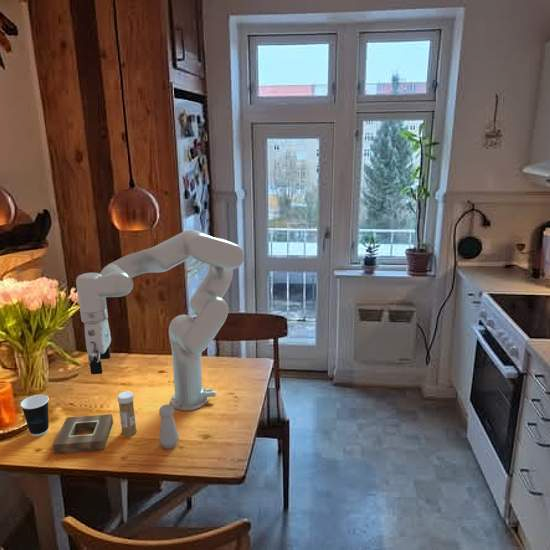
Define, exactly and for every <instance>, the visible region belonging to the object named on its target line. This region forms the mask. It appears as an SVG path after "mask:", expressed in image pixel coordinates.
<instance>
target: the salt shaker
mask: <svg viewBox="0 0 550 550" xmlns="http://www.w3.org/2000/svg"><path fill="white" fill-rule="evenodd" d="M158 414H159V416H160V426H159V435H158V438H159V439H158V442H159V443H160V445H161V446H162V449H165V450H171V449H173V448H176V445H177V443H178V441H179V433H178V429H177V426H176V422H175V419H174V414H175V408H174V407H173V406H172V405H171V404H163V405H161V406H160V407H159V410H158Z"/></svg>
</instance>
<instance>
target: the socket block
mask: <svg viewBox="0 0 550 550" xmlns="http://www.w3.org/2000/svg"><path fill="white" fill-rule="evenodd" d="M113 424H114V419H113V414H112V413H111V414H110V413H109V414H100V415H99V414H97V415H85V416H84V415H83V416H73V417H71V416H70V417H69V416H68V417H66V418H65V421H64V422H63V425H62V426H61V428H60V430H59V432H58V434H57V436H56V438H55V440H54V442H53V444H52V448H53V454H54V455H59V454H61V455H62V454H72V453H73V454H74V453H85V452H86V453H87V452H98V451H105V448H106V445H107V443H108V439H109V436H110V433H111V431H112V427H113ZM85 432H93V433H90V434H77V433H85Z"/></svg>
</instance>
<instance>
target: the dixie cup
mask: <svg viewBox="0 0 550 550" xmlns="http://www.w3.org/2000/svg"><path fill="white" fill-rule="evenodd" d="M49 400H50V398H49V396H48V395H46V394H35V395H31V396H28V397H26V398H24V399H23V400H22V401H21V402H20V404H19V406H20V407H21V409H22V411H23V415H24V419H25V421H26V425H27V428H28V431H29V433H30V434H31V436H32V437H35V438H36V437H37V438H38V437H42V436H44V435H46V434H47V433H48V432H49V427H50V426H49V425H50V424H49Z"/></svg>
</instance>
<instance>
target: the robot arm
mask: <svg viewBox="0 0 550 550" xmlns="http://www.w3.org/2000/svg"><path fill="white" fill-rule="evenodd" d="M190 259H194V260H196V261H198V262H200V263H204V264H207V265H209V268H208V271H207V274H206V275H205V277H204V278H203V280H202V282H201V283H200V285H199V286H198V288H197V289H196V291H195V292H194V294H193V295H192V297H191V298H190V300H189V310H190V311H191V312H192V313H193V314H194V315H195V318H193V317H192V316H190V315H188V314H179V315H177V316H175V317H174V318H173V319H172V320H171V321H170V322H169V323H170V324H169V326H168V337H169V342H170V347H171V356H172V369H173V370H172V371H173V372H172V373H173V383H174V384H173V385H174V394H173V395H172V396H171V398H170V405H172V406H173V407H174V409H176V410H178V411H194V410H198V409H200V408H202V407H203V406H204V405H206V404H207V401H208V398H214V397H217V395H216V390H213V388H206V387H205V386H204V384H203V374H202V371H203V370H202V353H203V352H204V351H205V350H206V349H207V348H208V347H209V345H210V344H212V342H213V340H214V339H215V337H216V336H217V334H218V333H219V331H220V329H221V328H222V326H223V325H224V324H225V322H226V320H227V317H228V315H229V305H228V304H227V301H225V299H224V298H223V297H225V294H226V292H227V291H228V289H229V287H230V285H231V283H232V280H233V273H234V270H235V269H238V268H240V267H241V266H242V265H243V263H244V260H245V252H244V250H243V248H242V247H241V245H239V244H237V243H235V242H232V241H230V240H227V239H225V238H220V237H215V236H214V237H213V236H211V235H208V234H205V233H204V232H201V231H198V230H196V229H187V230H184V231H182V232H180V233H178V234H176V235H174V236H171V237H170V238H169V239H166V240H164V241H163V242H160V243H158V244H157V245H155V246H153V247H150V248H147V249H142V250H140V251H136V252H132V253H130V254H127V255H125V256H122V257H119V259H117V260H114V261H113V262H110V263H108V264H106V266H104V267H103V268H102V270H101V271H100V272H86V273H83V274H80V275H78V276H77V277H76V279H75V282H76V291H77V292H76V293H77V298H78V307H79V312H80V319H81V322H82V323H84V337H85V339H84V340H85V347H86V351H87V352H86V353H87V357H88V363H89V369H90V374H91V375H101V374H103V367H102V366H103V365H102V361H101V360H110V359H111V351H110V345H111V342H112V337H111V330H110V325H109V320H108V318H109V314H108V307H107V298H119V297H124V296H127V295H128V294H130V293H131V291H132V290H133V289H134V288H133V287H134V281H133V278H134V277H137V276H139V275H142V274H143V275H144V274H148V273H164V272H168V271H170V270H171V269H172V268H174V267H176V266H178V265H180V264H182V263H184V262H186V261H188V260H190ZM204 387H205V388H204Z"/></svg>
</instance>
